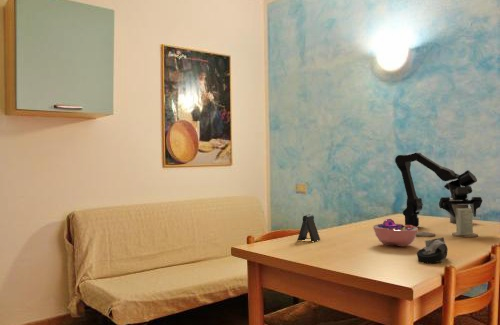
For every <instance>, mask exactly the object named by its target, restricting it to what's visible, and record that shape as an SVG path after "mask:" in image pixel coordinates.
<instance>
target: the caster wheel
mask: <svg viewBox="0 0 500 325" xmlns="http://www.w3.org/2000/svg"><path fill="white" fill-rule="evenodd" d="M424 243H425V246H423V247H422V249H419V250H418V251H417V252H416V256H417V260H418V262H420V263H422V262H424V263H423V264H435V263H438V262H441V263H442V262H444V261H446V259H447V256H448V249H449V248H448V246H447V244H446V242H445V238H444V236H443V237H437V238H433V239H427V240H425V241H424Z"/></svg>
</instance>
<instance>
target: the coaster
mask: <svg viewBox="0 0 500 325" xmlns="http://www.w3.org/2000/svg"><path fill="white" fill-rule="evenodd" d="M416 237H417V238H432V237H436V234H435V233H434V232H429V231H417V233H416Z"/></svg>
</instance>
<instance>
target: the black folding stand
mask: <svg viewBox="0 0 500 325" xmlns="http://www.w3.org/2000/svg"><path fill="white" fill-rule="evenodd" d="M308 234H309V237H308ZM305 239H311V241H316V242H318V241H317V240H319V241H321V237H320V235H319V232H318V228H317V227H316V223H315V216H314V215H313V214H311V213H310V214H306V215H303V216H302V224H301V227H300V230H299V232H298V236H297V241H298V240H305Z"/></svg>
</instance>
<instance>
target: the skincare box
mask: <svg viewBox="0 0 500 325" xmlns="http://www.w3.org/2000/svg"><path fill="white" fill-rule="evenodd" d="M455 224H456V225H455V226H456V232H457V234H459V235H473V233H474V229H473V228H474V227H473V226H474V225H473V224H474V223H473V213H472V209H471V207H470V208H469V207H468V208H457V209H456V223H455Z"/></svg>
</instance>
